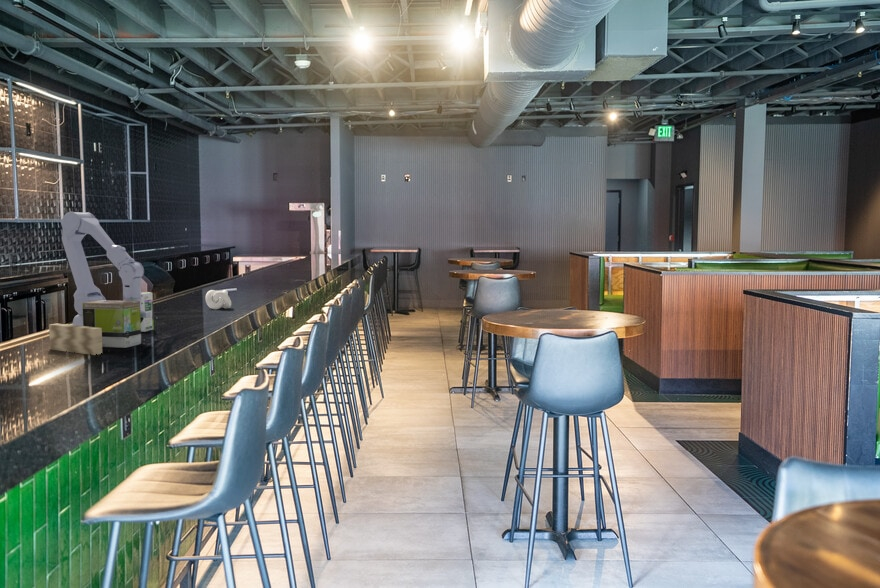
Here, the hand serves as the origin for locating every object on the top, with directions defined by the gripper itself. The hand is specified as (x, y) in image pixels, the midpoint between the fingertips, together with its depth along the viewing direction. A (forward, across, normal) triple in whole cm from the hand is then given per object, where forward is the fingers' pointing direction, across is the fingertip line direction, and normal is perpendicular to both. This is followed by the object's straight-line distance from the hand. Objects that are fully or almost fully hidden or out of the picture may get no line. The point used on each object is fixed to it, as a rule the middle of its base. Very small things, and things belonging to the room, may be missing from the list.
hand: (133, 337), depth 248 cm
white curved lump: (+2, -42, +91) cm, 100 cm away
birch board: (+2, 0, -22) cm, 22 cm away
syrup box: (+2, -18, +21) cm, 27 cm away
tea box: (+2, 0, -8) cm, 9 cm away
